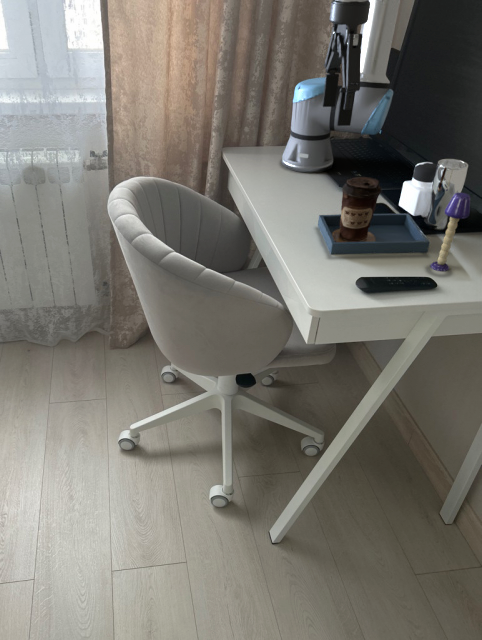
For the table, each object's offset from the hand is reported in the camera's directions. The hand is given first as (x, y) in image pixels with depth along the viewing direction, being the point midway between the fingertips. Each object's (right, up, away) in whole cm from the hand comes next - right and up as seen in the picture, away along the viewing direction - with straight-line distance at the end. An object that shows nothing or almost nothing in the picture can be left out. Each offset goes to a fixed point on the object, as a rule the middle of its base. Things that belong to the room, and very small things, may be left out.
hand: (335, 115), depth 123 cm
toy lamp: (+22, -34, -1) cm, 41 cm away
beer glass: (+28, -20, +16) cm, 38 cm away
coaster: (+6, -25, +8) cm, 27 cm away
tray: (+10, -25, +9) cm, 29 cm away
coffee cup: (+6, -25, +8) cm, 27 cm away
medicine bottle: (+26, -15, +22) cm, 37 cm away
